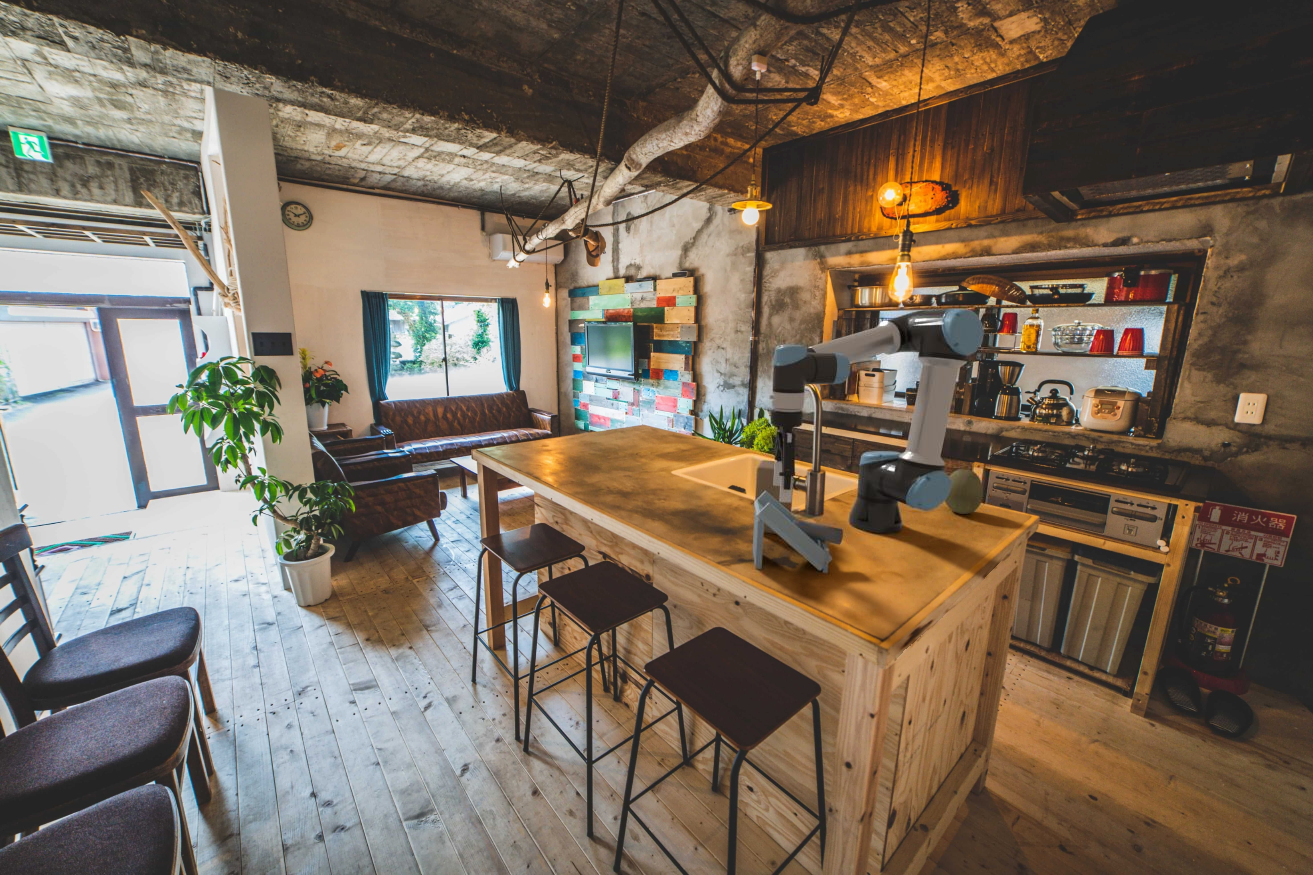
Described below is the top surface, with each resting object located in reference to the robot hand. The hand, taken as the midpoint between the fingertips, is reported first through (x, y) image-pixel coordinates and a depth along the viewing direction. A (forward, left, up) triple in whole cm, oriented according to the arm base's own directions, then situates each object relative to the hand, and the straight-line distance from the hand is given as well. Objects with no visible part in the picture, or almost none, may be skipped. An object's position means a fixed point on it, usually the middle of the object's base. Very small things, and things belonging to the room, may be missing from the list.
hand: (781, 493), depth 128 cm
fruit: (-65, -47, -18) cm, 82 cm away
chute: (-3, 0, -18) cm, 18 cm away
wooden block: (-1, -23, -18) cm, 30 cm away
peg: (-3, 0, -9) cm, 9 cm away
